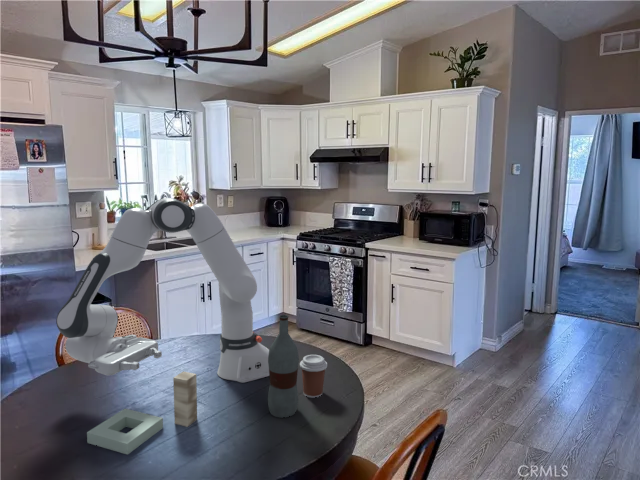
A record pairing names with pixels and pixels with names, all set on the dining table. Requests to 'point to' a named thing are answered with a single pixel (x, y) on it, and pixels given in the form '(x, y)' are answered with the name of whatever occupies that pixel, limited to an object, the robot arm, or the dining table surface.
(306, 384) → the coffee cup
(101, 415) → the dining table surface
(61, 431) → the dining table surface
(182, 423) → the peg
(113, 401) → the dining table surface
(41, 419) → the dining table surface
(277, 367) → the bottle
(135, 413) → the socket plate
